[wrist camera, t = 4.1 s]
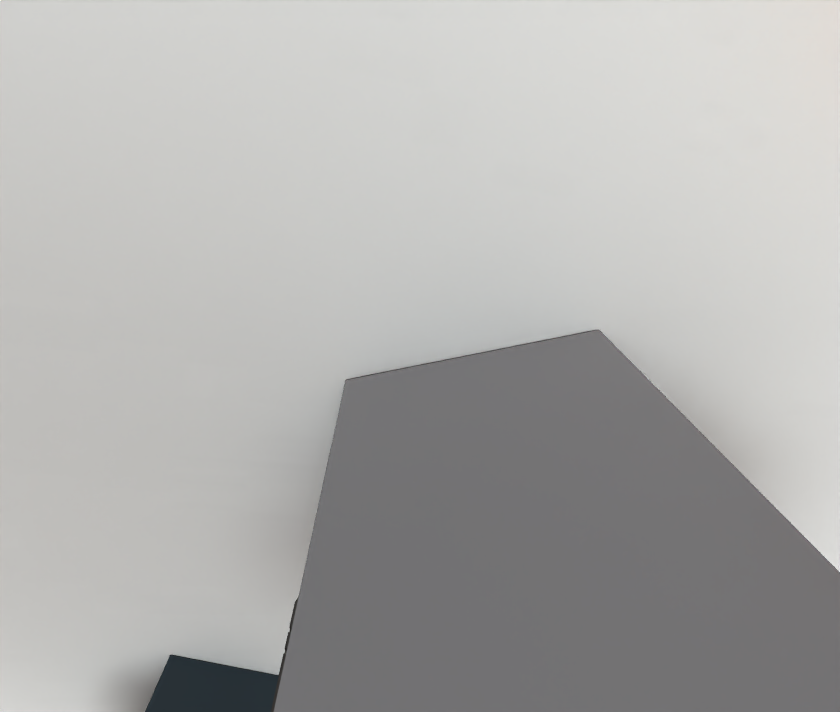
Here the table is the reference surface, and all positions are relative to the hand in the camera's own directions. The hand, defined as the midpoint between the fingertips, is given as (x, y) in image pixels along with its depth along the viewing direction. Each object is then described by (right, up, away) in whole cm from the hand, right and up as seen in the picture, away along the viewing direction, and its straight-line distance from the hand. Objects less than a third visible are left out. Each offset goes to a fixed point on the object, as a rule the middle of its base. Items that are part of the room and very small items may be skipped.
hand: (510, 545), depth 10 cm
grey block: (0, +1, +3) cm, 3 cm away
